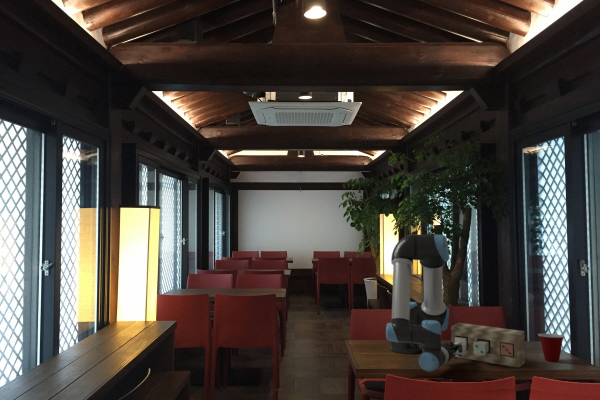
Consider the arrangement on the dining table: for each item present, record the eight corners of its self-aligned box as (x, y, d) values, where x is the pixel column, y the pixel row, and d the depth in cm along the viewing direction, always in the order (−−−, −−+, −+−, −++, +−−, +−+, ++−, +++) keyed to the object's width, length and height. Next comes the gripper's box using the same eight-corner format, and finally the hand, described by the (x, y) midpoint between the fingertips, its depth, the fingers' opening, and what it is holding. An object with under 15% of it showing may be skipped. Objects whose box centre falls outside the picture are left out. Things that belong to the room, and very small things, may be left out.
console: (451, 356, 222) (451, 326, 223) (459, 351, 230) (458, 322, 231) (519, 367, 204) (518, 335, 204) (524, 362, 212) (524, 331, 213)
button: (454, 348, 219) (454, 337, 219) (460, 344, 225) (460, 334, 226) (465, 350, 216) (465, 339, 216) (471, 346, 222) (471, 335, 223)
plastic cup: (560, 358, 219) (559, 332, 220) (568, 364, 209) (567, 337, 209) (535, 356, 221) (534, 331, 222) (542, 363, 211) (541, 336, 212)
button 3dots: (500, 354, 208) (500, 343, 208) (505, 350, 215) (505, 339, 215) (512, 356, 205) (512, 345, 205) (517, 352, 211) (517, 341, 212)
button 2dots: (473, 353, 209) (473, 342, 209) (479, 350, 216) (478, 339, 216) (484, 355, 206) (484, 344, 206) (490, 351, 213) (490, 340, 213)
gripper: (426, 361, 202) (446, 350, 221) (456, 366, 194) (474, 354, 213) (426, 343, 203) (446, 333, 221) (455, 348, 195) (474, 338, 213)
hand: (460, 344), depth 217 cm, fingers closed
